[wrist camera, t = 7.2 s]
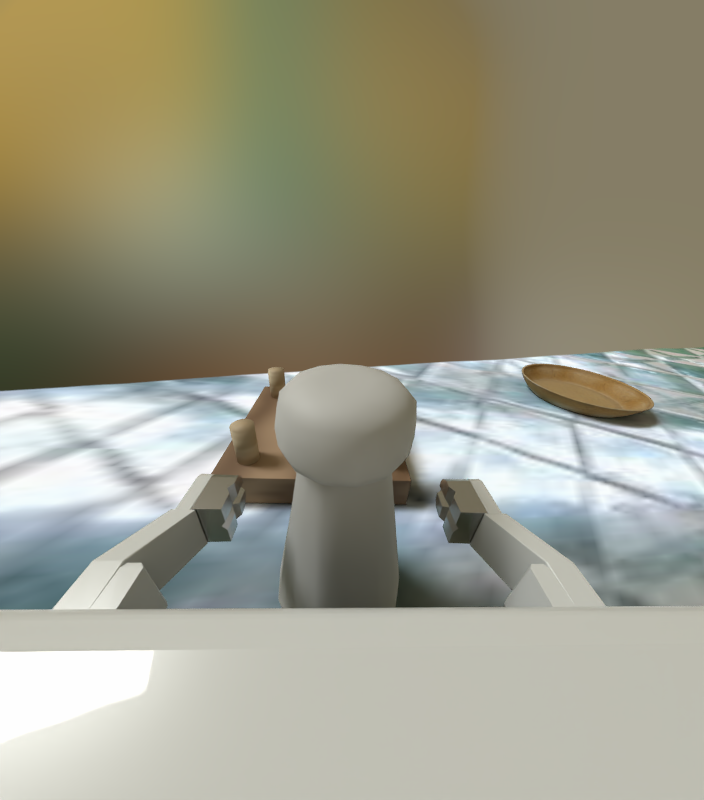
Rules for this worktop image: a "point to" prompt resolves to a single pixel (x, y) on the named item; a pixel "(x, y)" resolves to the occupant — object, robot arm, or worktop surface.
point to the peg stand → (274, 453)
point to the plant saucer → (584, 391)
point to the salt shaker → (342, 485)
